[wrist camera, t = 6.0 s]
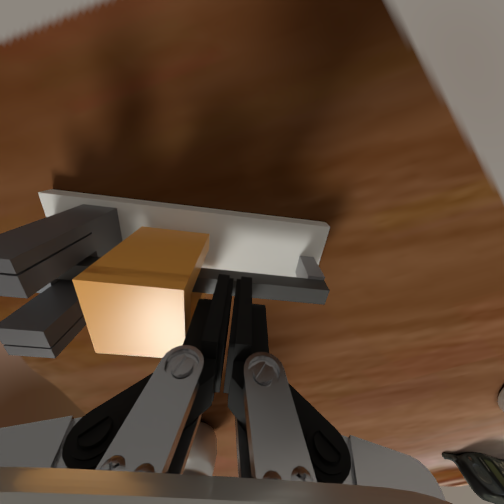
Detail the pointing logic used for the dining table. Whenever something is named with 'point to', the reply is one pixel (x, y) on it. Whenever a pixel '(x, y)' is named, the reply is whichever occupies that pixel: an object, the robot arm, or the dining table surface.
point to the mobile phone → (482, 474)
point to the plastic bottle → (202, 452)
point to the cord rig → (122, 226)
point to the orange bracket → (143, 292)
